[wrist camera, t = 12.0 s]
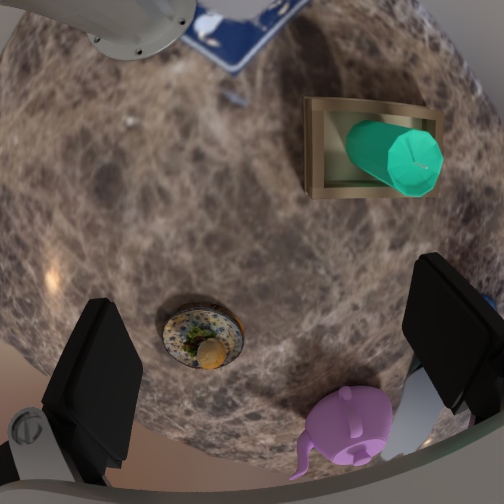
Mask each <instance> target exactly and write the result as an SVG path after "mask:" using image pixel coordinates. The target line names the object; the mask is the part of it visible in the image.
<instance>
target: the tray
mask: <svg viewBox="0 0 504 504" xmlns="http://www.w3.org/2000/svg"><path fill="white" fill-rule="evenodd" d="M303 113H304V192H305V194H308V195H309V196H310V197H311V199H312V200H315V199H342V198H384V197H415V196H405V195H404V194H402V193H400V192H399V191H397V190H396V189H394V188H392V187H391V186H389V185H387V184H386V183H384V182H382V181H381V180H379V179H377V178H376V177H374V176H372V175H371V174H369V173H367V172H365V171H364V170H362V169H360V168H359V167H358V166H356V165H355V164H353V163H352V162H351V161H350V158H349V156H348V154H347V152H346V136H347V135H348V133H349V132H350V130H351V128H352V127H353V125H355V124H357V123H359V122H361V121H363V120H371V121H378V122H384V123H389V124H394V125H399V126H404V127H408V128H413V129H417V130H422V131H426V132H428V133H429V134H430V135H431V136H432V137H433V138H434V139H435V141H436V142H437V144H438V146H439V149H440V151H441V154H442V148H443V130H444V112H443V111H437V110H431V109H430V107H424V106H418V105H411V104H404V103H396V102H387V101H378V100H367V99H354V98H338V97H310V96H304V97H303ZM440 172H441V170H440ZM439 181H440V173H439V176H438V178H437V181H436V183H435V185H434V187H433V189H432V190H430V191H429V192H427V193H426V194H424V195H422V196H421V197H438V190H439Z"/></svg>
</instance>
